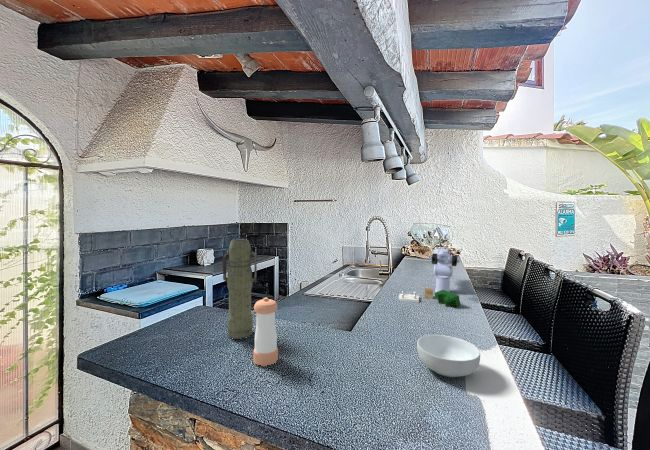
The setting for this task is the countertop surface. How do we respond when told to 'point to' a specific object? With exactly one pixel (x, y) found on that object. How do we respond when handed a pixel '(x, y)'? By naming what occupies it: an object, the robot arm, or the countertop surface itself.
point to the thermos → (239, 288)
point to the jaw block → (428, 293)
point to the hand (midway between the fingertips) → (444, 262)
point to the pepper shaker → (265, 333)
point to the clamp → (448, 298)
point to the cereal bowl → (448, 355)
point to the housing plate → (409, 297)
